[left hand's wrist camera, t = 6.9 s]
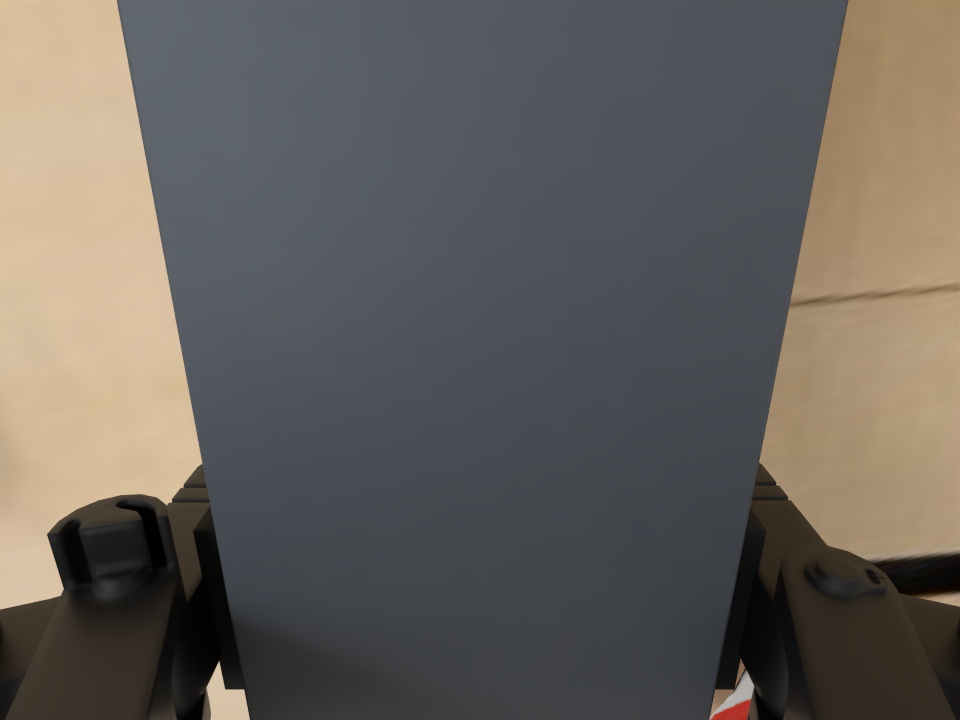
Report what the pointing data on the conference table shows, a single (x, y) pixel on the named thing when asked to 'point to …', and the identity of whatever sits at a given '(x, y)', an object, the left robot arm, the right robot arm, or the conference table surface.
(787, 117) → the bar
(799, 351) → the conference table surface
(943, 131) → the conference table surface
